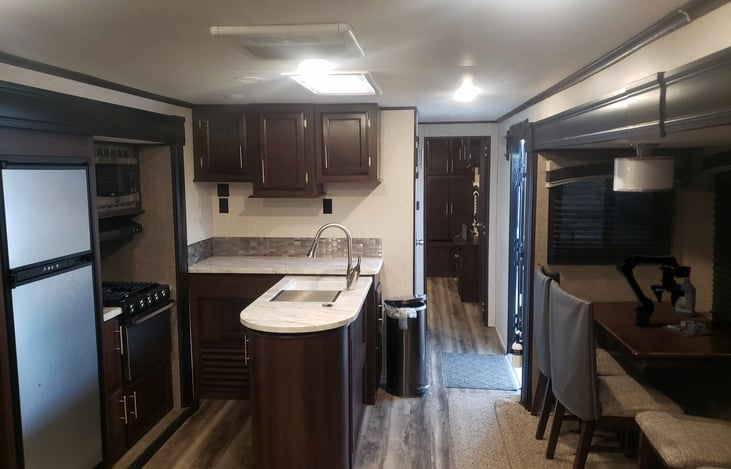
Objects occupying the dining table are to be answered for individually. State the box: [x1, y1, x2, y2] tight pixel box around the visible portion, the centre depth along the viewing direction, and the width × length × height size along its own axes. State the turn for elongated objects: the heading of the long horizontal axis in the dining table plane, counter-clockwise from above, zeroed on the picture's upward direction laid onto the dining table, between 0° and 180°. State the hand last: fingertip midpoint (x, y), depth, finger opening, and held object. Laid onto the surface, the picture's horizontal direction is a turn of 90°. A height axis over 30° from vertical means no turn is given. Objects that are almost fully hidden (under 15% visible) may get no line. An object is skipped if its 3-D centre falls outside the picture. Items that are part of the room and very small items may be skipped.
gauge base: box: [662, 322, 709, 338], centre depth 288 cm, size 14×16×6 cm
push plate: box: [677, 319, 695, 330], centre depth 287 cm, size 10×3×4 cm, turn 107°
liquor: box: [674, 266, 697, 318], centre depth 321 cm, size 9×9×30 cm
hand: (666, 305), depth 299 cm, fingers open, 9 cm apart
